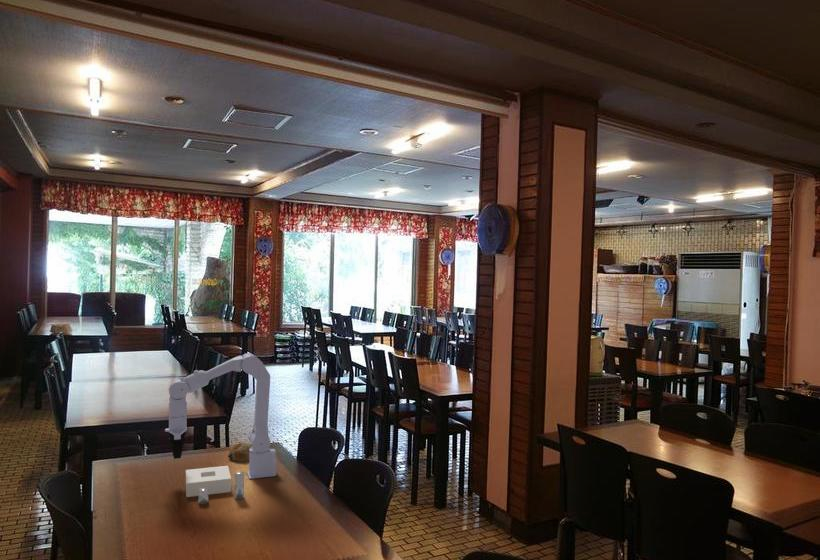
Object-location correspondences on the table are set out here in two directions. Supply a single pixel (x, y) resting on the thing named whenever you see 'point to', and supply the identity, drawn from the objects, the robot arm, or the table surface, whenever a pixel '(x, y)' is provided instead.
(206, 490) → the short steel pin
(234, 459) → the bread roll
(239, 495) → the tall steel pin
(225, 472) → the hole block
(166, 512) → the table surface
